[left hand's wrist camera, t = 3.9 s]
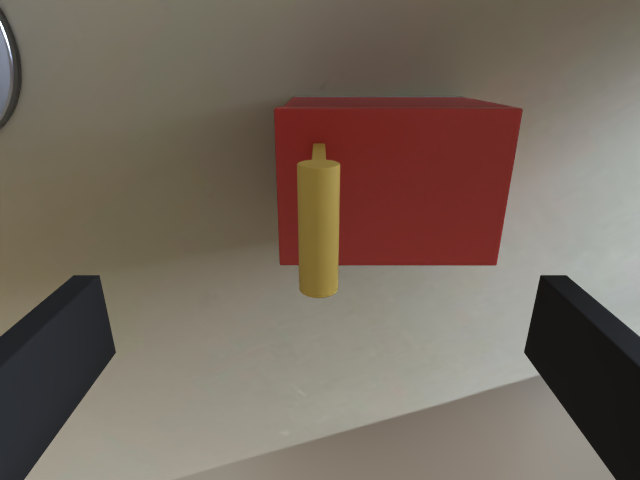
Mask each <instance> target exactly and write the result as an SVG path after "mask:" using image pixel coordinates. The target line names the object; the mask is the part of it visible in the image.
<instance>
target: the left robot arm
mask: <svg viewBox="0 0 640 480" xmlns="http://www.w3.org/2000/svg"><path fill="white" fill-rule="evenodd" d="M20 87H21V64H20V57H19V52H18V48H17V44H16V41H15V38H14V35H13V32H12V30H11V27H10V25H9V23H8V21H7V19H6V17H5V15H4V13H3V11H2V10H1V8H0V129H1V128H2V127H3V126H4V125H5V124H6V123H7V121H8V120H9V118H10V117H11V115H12V113H13V111H14V109H15V107H16V104H17V101H18V98H19V93H20ZM115 353H116V351H115V346H114V341H113V337H112V332H111V327H110V323H109V318H108V313H107V309H106V304H105V299H104V294H103V290H102V285H101V280H100V276H99V275H74V276H72V277H71V278H70V279H69V280H68V281H66V282H65V283H64V284H63V285H62V286H60V287H59V288H58V289H57V290H56V291H54V292H53V293H52V294H51V295H50V296H48V297H47V298H46V299H45V300H44V301H42V302H41V303H40V304H39V305H38V306H37V307H35V308H34V309H33V310H32V311H31V312H29V313H28V314H27V315H26V316H25V317H23V318H22V319H21V320H20V321H19V322H17V323H16V324H15V325H14V326H13V327H11V328H10V329H9V330H8V331H7V332H5V333H4V334H3V335H2V336H1V337H0V480H24V479H25V478H26V476H27V475H28V473H29V472H30V471H31V469H32V468H33V467H34V465H35V464H36V462H37V461H38V460H39V458H40V457H41V455H42V454H43V453H44V451H45V450H46V449H47V447H48V446H49V444H50V443H51V442H52V440H53V439H54V437H55V436H56V435H57V433H58V432H59V431H60V429H61V428H62V426H63V425H64V424H65V422H66V421H67V419H68V418H69V417H70V415H71V414H72V413H73V411H74V410H75V408H76V407H77V406H78V404H79V403H80V401H81V400H82V399H83V397H84V396H85V394H86V393H87V392H88V390H89V389H90V388H91V386H92V385H93V383H94V382H95V381H96V379H97V378H98V376H99V375H100V374H101V372H102V371H103V370H104V368H105V367H106V365H107V364H108V363H109V361H110V360H111V358H112V357H113V356H114V354H115ZM524 353H525V354H526V356H527V357H528V358H529V360H530V361H531V363H532V364H533V365H534V367H535V368H536V370H537V371H538V372H539V374H540V375H541V376H542V378H543V379H544V381H545V382H546V383H547V385H548V386H549V388H550V389H551V390H552V392H553V393H554V394H555V396H556V397H557V399H558V400H559V401H560V403H561V404H562V406H563V407H564V408H565V410H566V411H567V413H568V414H569V415H570V417H571V418H572V419H573V421H574V422H575V424H576V425H577V426H578V428H579V429H580V431H581V432H582V433H583V435H584V436H585V437H586V439H587V440H588V442H589V443H590V444H591V446H592V447H593V449H594V450H595V451H596V453H597V454H598V455H599V457H600V458H601V460H602V461H603V462H604V464H605V465H606V466H607V468H608V469H609V471H610V472H611V473H612V475H613V476H614V478H615V479H616V480H640V337H639V336H638V335H637V334H636V333H635V332H633V331H632V330H631V329H630V328H629V327H627V326H626V325H625V324H624V323H623V322H621V321H620V320H619V319H618V318H617V317H615V316H614V315H613V314H612V313H611V312H609V311H608V310H607V309H606V308H605V307H603V306H602V305H601V304H600V303H599V302H598V301H596V300H595V299H594V298H593V297H592V296H590V295H589V294H588V293H587V292H586V291H584V290H583V289H582V288H581V287H580V286H578V285H577V284H576V283H575V282H574V281H572V280H571V279H570V278H569V277H568V276H566V275H541V276H540V280H539V285H538V290H537V294H536V299H535V304H534V309H533V313H532V318H531V323H530V327H529V332H528V337H527V341H526V346H525V351H524Z"/></svg>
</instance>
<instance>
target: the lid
mask: <svg viewBox="0 0 640 480" xmlns="http://www.w3.org/2000/svg"><path fill="white" fill-rule="evenodd" d="M522 111H523V109H521V108H516V107H276V108H275V109H274V124H275V151H276V177H277V204H278V230H279V257H280V265H299V289H300V291H301V293H302V294H304V295H306V296H309V297H313V298H324V297H329V296H331V295H333V294H335V293H336V292H337V290H338V265H496V264H497V259H498V253H499V247H500V241H501V235H502V229H503V223H504V217H505V211H506V206H507V200H508V194H509V188H510V182H511V176H512V170H513V164H514V158H515V152H516V146H517V141H518V135H519V129H520V123H521V117H522Z"/></svg>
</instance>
